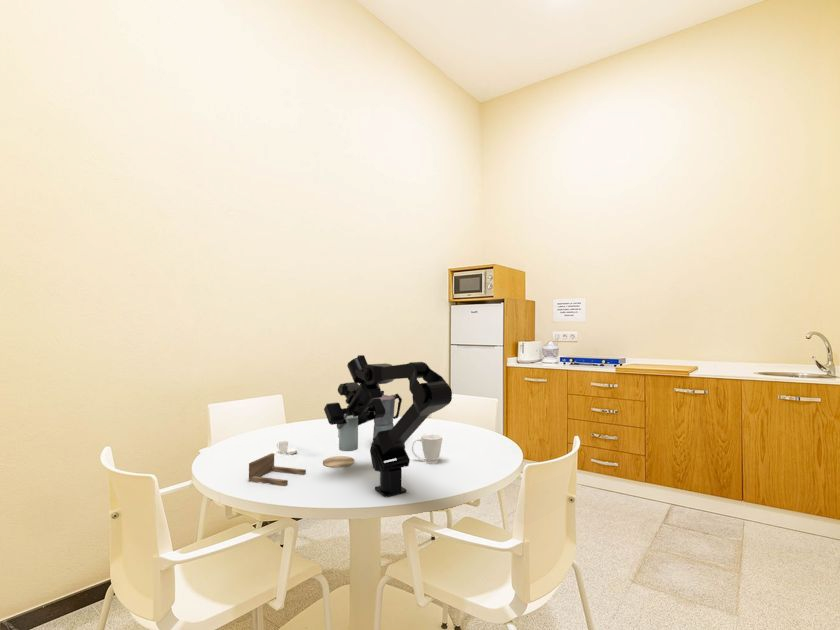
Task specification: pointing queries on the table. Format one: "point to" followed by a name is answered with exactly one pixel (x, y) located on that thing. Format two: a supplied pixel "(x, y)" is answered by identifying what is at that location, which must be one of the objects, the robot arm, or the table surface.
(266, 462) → the dock
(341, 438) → the jug
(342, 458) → the coaster
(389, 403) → the moka pot
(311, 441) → the table surface
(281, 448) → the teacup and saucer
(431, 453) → the cup
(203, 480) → the table surface
